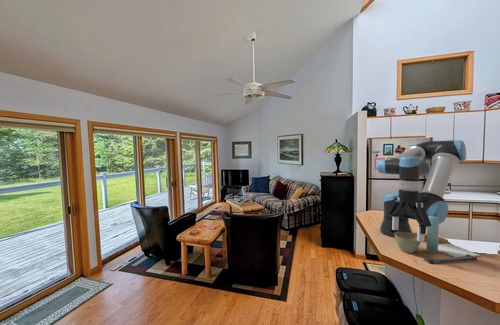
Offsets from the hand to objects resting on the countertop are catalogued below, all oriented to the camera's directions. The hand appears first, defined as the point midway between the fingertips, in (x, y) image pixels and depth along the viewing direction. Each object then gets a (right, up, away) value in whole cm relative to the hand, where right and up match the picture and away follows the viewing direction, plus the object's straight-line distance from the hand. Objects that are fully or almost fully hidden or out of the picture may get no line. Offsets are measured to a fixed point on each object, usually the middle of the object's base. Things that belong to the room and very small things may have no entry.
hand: (407, 234), depth 97 cm
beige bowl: (0, -8, 0) cm, 8 cm away
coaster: (+22, -8, 0) cm, 23 cm away
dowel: (+12, -8, 0) cm, 14 cm away
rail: (+12, -8, -9) cm, 17 cm away
